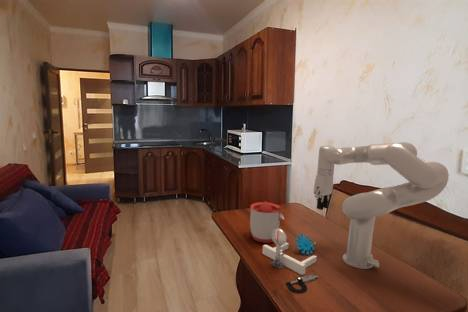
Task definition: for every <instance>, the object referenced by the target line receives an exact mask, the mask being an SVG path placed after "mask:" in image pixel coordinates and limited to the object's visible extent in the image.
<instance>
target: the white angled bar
mask: <svg viewBox="0 0 468 312" xmlns="http://www.w3.org/2000/svg"><path fill="white" fill-rule="evenodd" d="M289 246H290V243H289V242H287V241H286V243H285V244H284V245H282V246H281V250H282V249H285V251H286V250H288V249H289ZM262 254H263V255H264V256H266V257H268V258H269V259H271V260H272V261H274V260H275V255H276V246H274V247H272V246H270V245H268V244H264V245H262ZM280 263H282V264H283V265H284V267H286V268H287V269H290V270H291V271H293V272H294V273H295V272H296V273H297V274H299V275H301V276H304V275H305V274H306V269H307V268H308V267H309V266H311V265H313V264H314V263H317V256H316V255H312V256H309V257H307V258H305V259H303V260H302V261H299V260H298V259H296V258H294V257H292V256H289V255H287V253H283V252H281V253H280Z"/></svg>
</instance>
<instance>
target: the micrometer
mask: <svg viewBox="0 0 468 312" xmlns="http://www.w3.org/2000/svg"><path fill="white" fill-rule="evenodd" d="M316 279H319V275H318V274H315V273H314V274H309V275H308V274H307V275H303V276H298V277H297V278H295V280H293V281H287V282H285V285H286V286H287V288H288V290H289V291H291V293H296V294H300V295H301V294H304V293H306V292H307V291H308V287H307V284H306V283H308V282H311V281H315V280H316ZM293 284H297V285H299V286H300V287H301V288H300V289H298V288H296V287H295V286H293Z"/></svg>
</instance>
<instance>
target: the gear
mask: <svg viewBox="0 0 468 312" xmlns="http://www.w3.org/2000/svg"><path fill="white" fill-rule="evenodd" d="M304 236H305V237H304ZM308 238H309V235H308V234H306V235H305V234H304V233H301V234H298V235H297V237H296V238H295V241H296V242H295V247H296V248H297V251H301V254H302V255H304V254H305V255H306V256H308V255H309V254H310V255H311V254H313V253H314V252H313V251H315V249H316V248H315V247H314V246H315V245H316V244H317V243H316V242H315V241H314V242H312V241H313V239H312V237H310V238H309V239H308ZM297 246H298V247H297Z"/></svg>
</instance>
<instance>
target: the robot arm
mask: <svg viewBox="0 0 468 312" xmlns="http://www.w3.org/2000/svg"><path fill="white" fill-rule="evenodd" d="M359 163H367V164H368V163H369V164H370V165H374V166H380V165H381V166H382V165H387V166H390V167H391V168H392V169H393V170H395V172H396V173H398V174H399V175H401V177H403V178H404V179H406V180H407V182H404V183H401V184H396V185H393V186H388V187H387V186H386V187H381V188H378V189H375V190H372V191H368V192H361V193H356V194H354V195H351V196H349V197H347V198H345V199H344V200H343V202H342V205H341V210H342V213H343V214H344V215H345V216H346V217H347V218H348V219H350V221H349V222H350V223H349V227H348V228H349V230H348V239H347V249H346V252H345V253H344V254H343V255H342V261H343V262H344V263H345V264H347V265H348V266H350V267H353V268H356V269H360V270H369V269H371V268H373V267H375V268H379V267H380V262H379V260H377V259H374V257H373V254H372V246H373V245H372V244H373V243H372V242H373V236H374V235H373V234H374V228H375V222H376V219H377V218H376V217H380V216H384V215H388V214H389V213H391V212H393V211H395V210H397V209H400V208H401V209H402V208H404V207H405V208H406V207H409V206H414V205H417V204H422V203H425V202H428V201H431V200H432V199H434V198H436V197H437V196H439V195H440V194H441V193H442V192H443V191H444V190H445V188H446V187H447V184H448V182H449V176H450V175H449V170H448V168H447V167H446V166H445V165H444V164H442V163H440V162H437V161H428V162H425V161H424V160H422V159H420V158H419V157H418V150H417V148H416V146H415V145H413V144H412V143H410V142H389V143H377V144H376V143H375V144H369V145H364V146H363V145H362V146H349V147H348V146H346V147H344V146H343V147H334V146H331V145H322V146H320V147H319V149H318V160H317V171H316V176H315V180H314V181H315V182H314V186H313V194H314V198H315V199H316V201H317V202H316V209H317V210H321V211H323V210H324V209H328V208H329V200H330V196H331V195H332V193H333V190H334V189H333V187H334V176H335V175H334V173H335V165H337V166H338V165H339V166H341V165H345V164H346V165H347V164H359Z"/></svg>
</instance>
